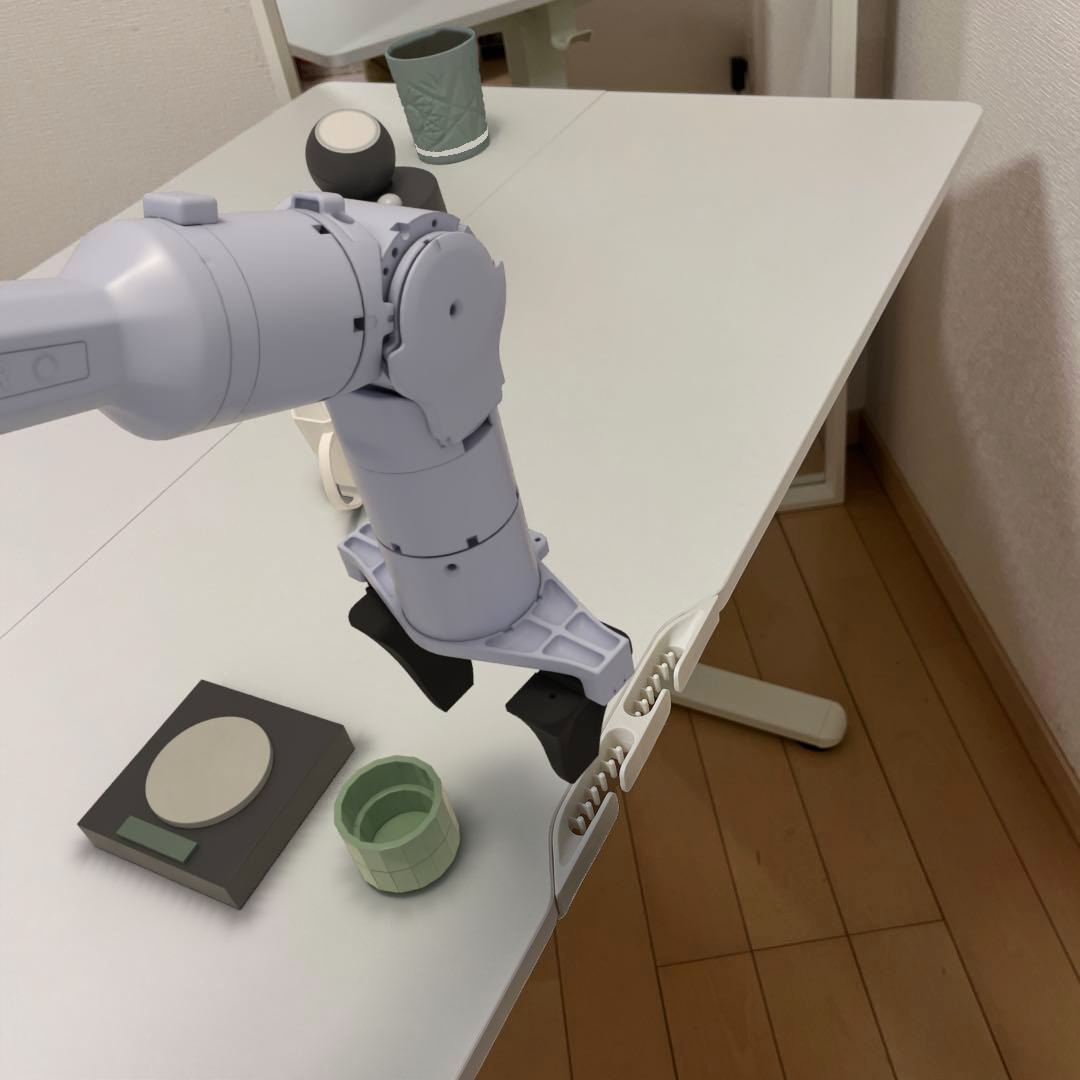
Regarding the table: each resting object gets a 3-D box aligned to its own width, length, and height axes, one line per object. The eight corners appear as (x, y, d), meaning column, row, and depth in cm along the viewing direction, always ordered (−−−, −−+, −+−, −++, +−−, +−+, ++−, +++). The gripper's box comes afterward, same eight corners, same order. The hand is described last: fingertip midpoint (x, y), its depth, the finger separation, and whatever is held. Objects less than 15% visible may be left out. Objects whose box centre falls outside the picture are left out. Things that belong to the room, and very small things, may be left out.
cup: (417, 446, 86) (389, 359, 80) (396, 533, 78) (364, 443, 73) (331, 456, 87) (297, 370, 82) (302, 542, 80) (264, 454, 74)
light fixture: (321, 170, 88) (249, 133, 98) (376, 340, 99) (306, 291, 108) (457, 108, 93) (376, 78, 103) (497, 277, 103) (419, 235, 113)
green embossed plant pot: (407, 172, 126) (377, 65, 118) (417, 136, 133) (391, 34, 125) (493, 158, 124) (470, 49, 116) (499, 123, 132) (478, 18, 124)
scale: (239, 910, 58) (220, 881, 56) (93, 845, 63) (70, 817, 61) (355, 748, 64) (340, 718, 63) (214, 701, 69) (197, 672, 68)
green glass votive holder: (414, 916, 56) (390, 869, 53) (338, 866, 59) (311, 818, 56) (483, 833, 59) (463, 783, 56) (407, 789, 62) (385, 739, 59)
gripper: (663, 502, 40) (696, 735, 49) (387, 402, 48) (458, 617, 57) (540, 628, 36) (600, 854, 45) (265, 496, 44) (362, 710, 53)
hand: (515, 729), depth 51 cm, fingers open, 7 cm apart
